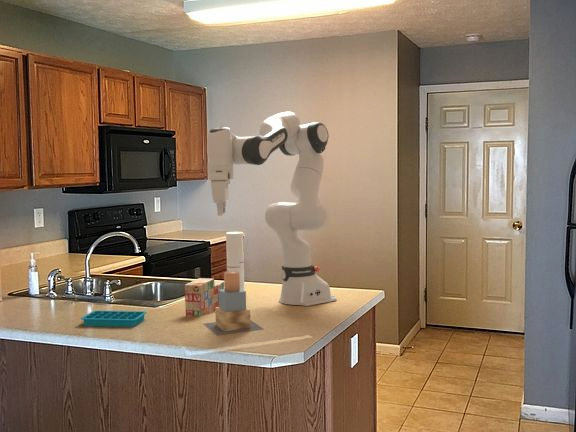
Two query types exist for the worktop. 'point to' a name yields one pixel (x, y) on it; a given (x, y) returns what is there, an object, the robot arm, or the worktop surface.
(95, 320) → the ice cube tray
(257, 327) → the charcoal rubber mat
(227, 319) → the oak block
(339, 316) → the worktop surface
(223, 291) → the slate-blue block
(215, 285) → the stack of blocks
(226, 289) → the terracotta cylinder
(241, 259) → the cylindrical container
